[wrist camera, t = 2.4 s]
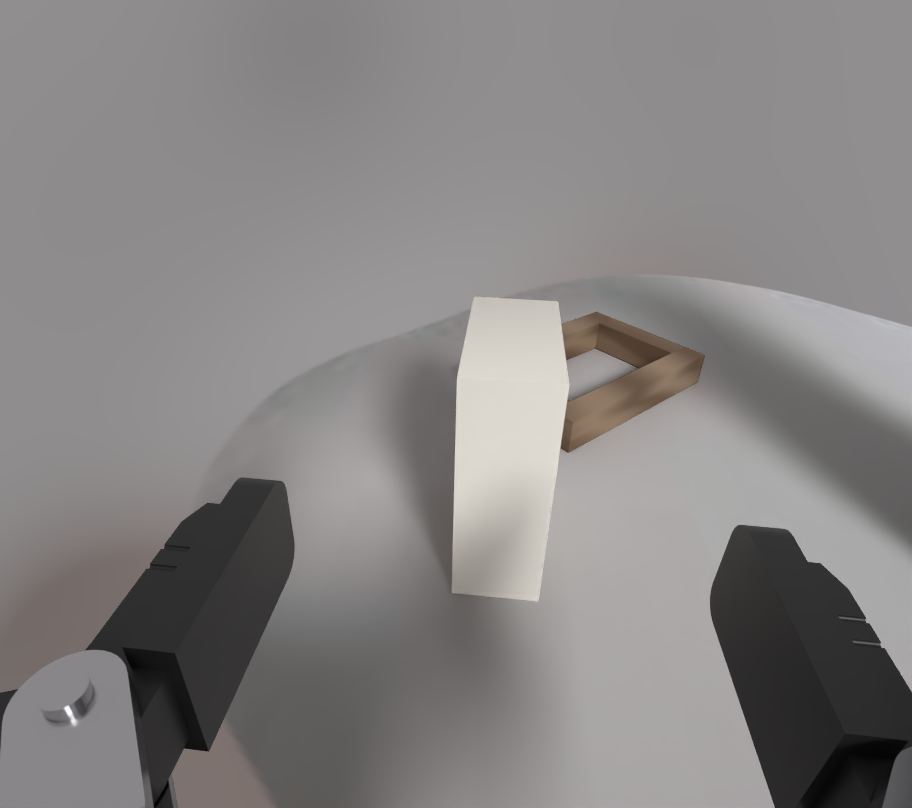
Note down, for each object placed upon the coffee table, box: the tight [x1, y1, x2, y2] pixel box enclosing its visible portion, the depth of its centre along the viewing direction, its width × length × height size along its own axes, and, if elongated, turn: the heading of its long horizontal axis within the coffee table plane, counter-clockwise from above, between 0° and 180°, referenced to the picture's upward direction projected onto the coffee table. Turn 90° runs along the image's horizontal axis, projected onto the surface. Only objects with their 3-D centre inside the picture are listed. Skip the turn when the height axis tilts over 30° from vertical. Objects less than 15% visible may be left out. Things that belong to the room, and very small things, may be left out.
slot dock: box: [560, 312, 705, 452], centre depth 38 cm, size 13×9×2 cm
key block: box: [452, 297, 569, 601], centre depth 24 cm, size 4×7×10 cm, turn 174°
